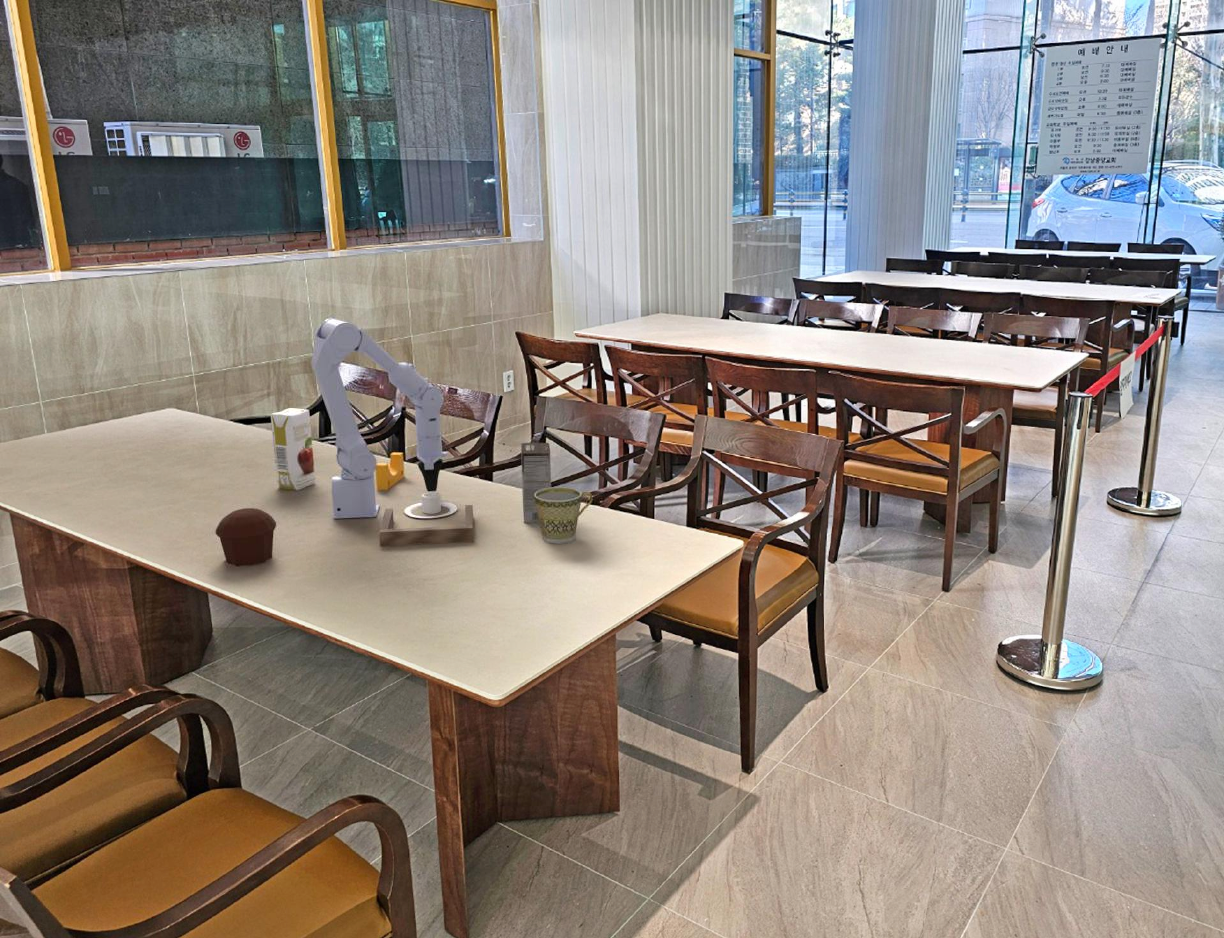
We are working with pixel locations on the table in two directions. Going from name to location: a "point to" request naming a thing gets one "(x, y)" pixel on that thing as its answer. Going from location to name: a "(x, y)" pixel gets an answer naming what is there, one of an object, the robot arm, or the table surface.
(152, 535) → the table surface
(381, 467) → the yellow notched block
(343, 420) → the robot arm
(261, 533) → the muffin
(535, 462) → the coffee box
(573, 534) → the ceramic cup
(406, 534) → the walnut cradle
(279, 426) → the juice carton
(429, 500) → the candle holder
